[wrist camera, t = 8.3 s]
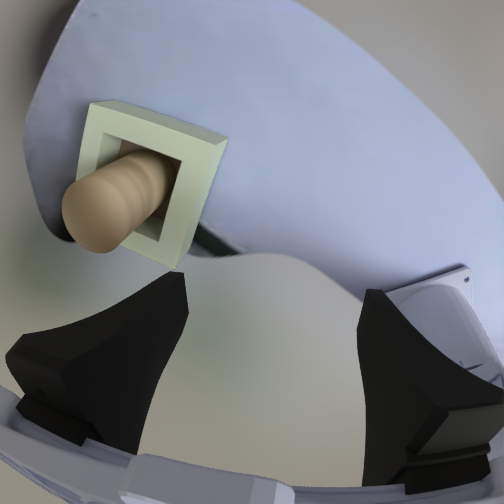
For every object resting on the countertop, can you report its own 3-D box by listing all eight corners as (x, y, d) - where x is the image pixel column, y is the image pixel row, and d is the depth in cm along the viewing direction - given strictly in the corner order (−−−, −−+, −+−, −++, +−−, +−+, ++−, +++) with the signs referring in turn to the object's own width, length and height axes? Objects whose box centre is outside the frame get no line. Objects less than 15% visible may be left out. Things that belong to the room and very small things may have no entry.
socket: (228, 138, 19) (215, 145, 16) (189, 249, 23) (174, 270, 20) (115, 100, 18) (90, 103, 16) (93, 206, 22) (71, 221, 20)
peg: (141, 212, 22) (88, 262, 16) (114, 165, 20) (50, 200, 14) (186, 190, 20) (138, 237, 14) (158, 137, 19) (97, 164, 13)
